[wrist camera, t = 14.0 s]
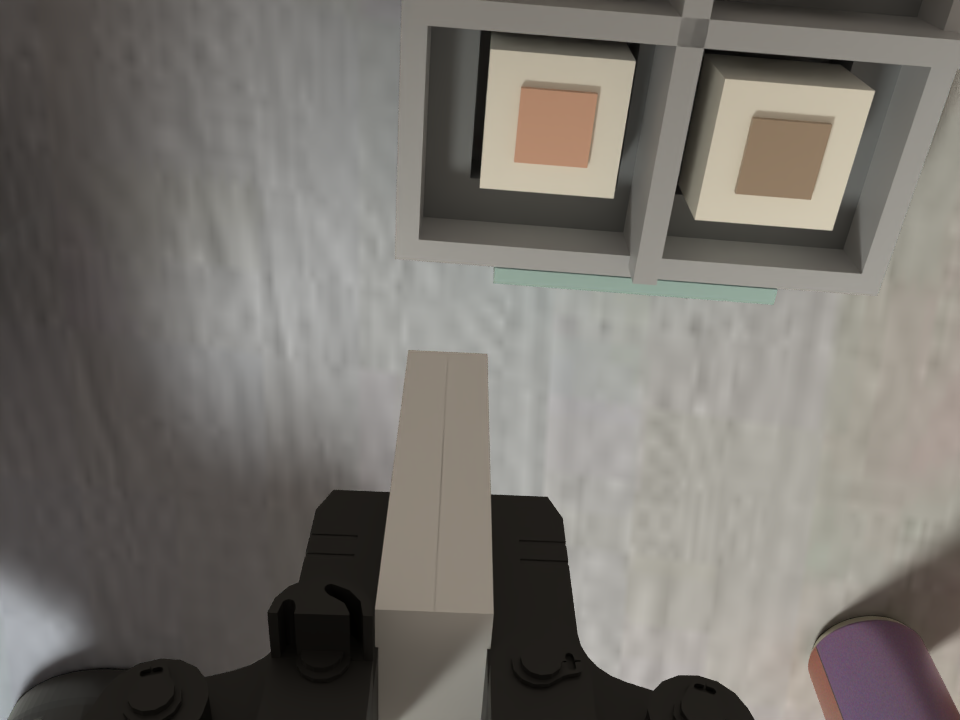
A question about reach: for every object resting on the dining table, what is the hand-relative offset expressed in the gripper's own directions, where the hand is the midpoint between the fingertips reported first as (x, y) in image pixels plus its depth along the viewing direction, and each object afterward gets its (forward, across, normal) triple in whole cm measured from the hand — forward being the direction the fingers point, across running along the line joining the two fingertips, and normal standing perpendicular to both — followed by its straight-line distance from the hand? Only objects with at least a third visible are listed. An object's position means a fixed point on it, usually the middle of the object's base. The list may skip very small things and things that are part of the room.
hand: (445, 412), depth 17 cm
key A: (+17, +3, +2) cm, 17 cm away
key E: (+16, +10, +2) cm, 19 cm away
